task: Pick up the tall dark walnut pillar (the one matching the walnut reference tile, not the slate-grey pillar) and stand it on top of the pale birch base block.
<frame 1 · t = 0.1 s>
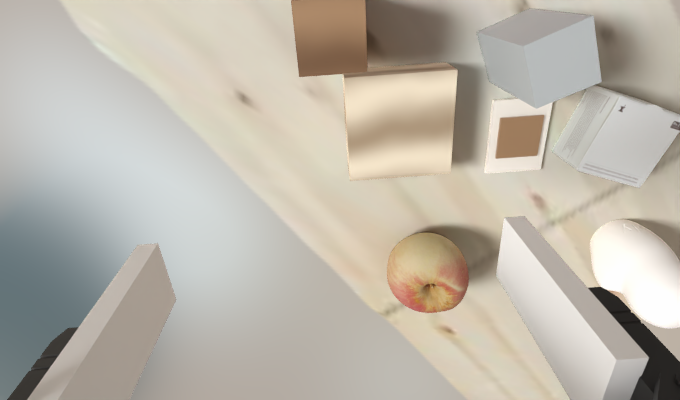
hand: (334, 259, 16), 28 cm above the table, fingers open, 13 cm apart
slate pillar: (508, 46, 39), on the table
small box: (598, 127, 43), on the table
reference tile: (516, 135, 43), on the table
apple: (418, 249, 50), on the table
figurine: (611, 241, 50), on the table
birch base: (393, 116, 42), on the table
walnut pillar: (328, 25, 37), on the table
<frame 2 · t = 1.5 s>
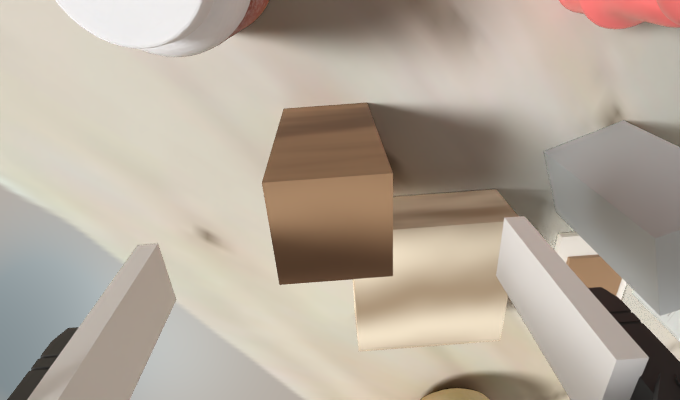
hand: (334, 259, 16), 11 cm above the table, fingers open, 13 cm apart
slate pillar: (587, 168, 27), on the table
reference tile: (586, 273, 31), on the table
apple: (445, 397, 38), on the table
birch base: (419, 254, 30), on the table
walnut pillar: (328, 145, 25), on the table
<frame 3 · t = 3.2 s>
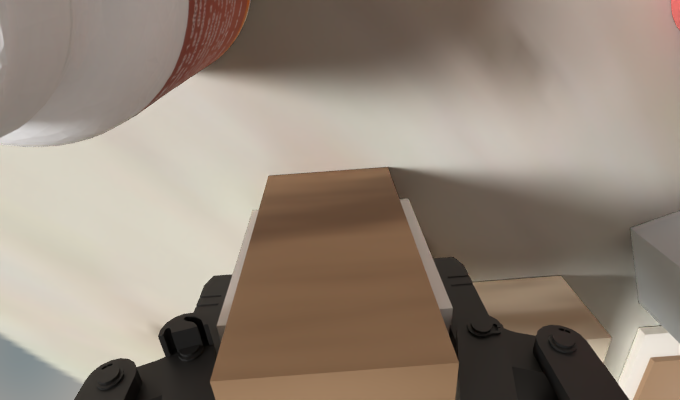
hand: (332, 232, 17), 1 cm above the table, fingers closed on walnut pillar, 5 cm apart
reference tile: (670, 374, 24), on the table
birch base: (453, 354, 22), on the table
walnut pillar: (332, 222, 18), on the table, touching gripper
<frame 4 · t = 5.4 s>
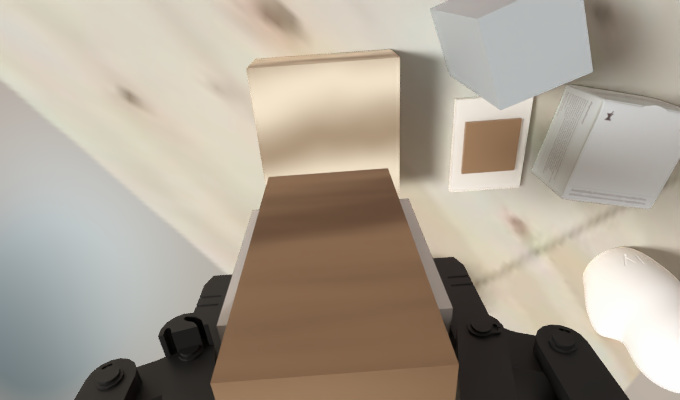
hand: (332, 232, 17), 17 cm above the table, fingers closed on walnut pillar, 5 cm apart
slate pillar: (472, 28, 30), on the table
small box: (588, 135, 34), on the table
reference tile: (487, 143, 34), on the table
figurine: (609, 273, 41), on the table
birch base: (328, 120, 32), on the table
walnut pillar: (332, 223, 18), point 16 cm above the table, touching gripper
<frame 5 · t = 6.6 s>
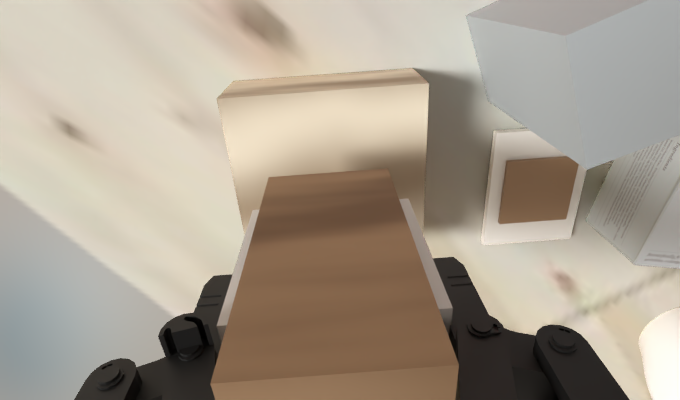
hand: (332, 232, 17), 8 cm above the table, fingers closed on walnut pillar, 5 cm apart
slate pillar: (521, 41, 22), on the table
small box: (658, 175, 27), on the table
reference tile: (532, 186, 26), on the table
figurine: (670, 335, 34), on the table
birch base: (329, 158, 25), on the table
walnut pillar: (332, 223, 18), point 8 cm above the table, touching gripper
when the fingers open (6 cm above the table, at t = 7.6 s): walnut pillar stays where it is, resting on birch base.
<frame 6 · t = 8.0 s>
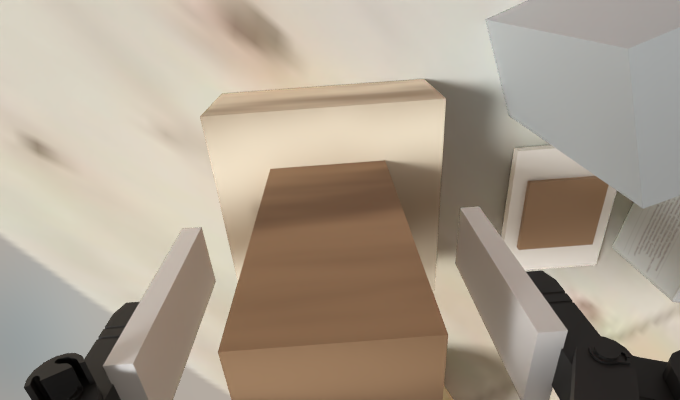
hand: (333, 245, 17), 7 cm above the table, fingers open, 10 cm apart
slate pillar: (548, 48, 20), on the table
reference tile: (555, 208, 24), on the table
birch base: (330, 178, 22), on the table
walnut pillar: (331, 214, 19), point 4 cm above the table, touching birch base
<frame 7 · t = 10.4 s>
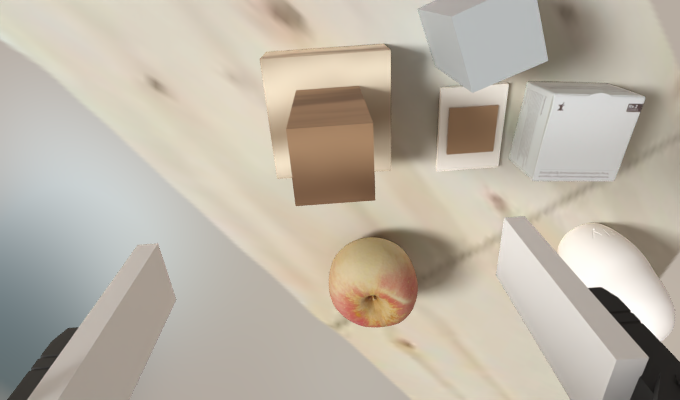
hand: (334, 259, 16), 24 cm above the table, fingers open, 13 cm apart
slate pillar: (454, 25, 34), on the table
small box: (554, 122, 39), on the table
reference tile: (469, 128, 38), on the table
apple: (367, 256, 45), on the table
figurine: (581, 248, 45), on the table
birch base: (329, 106, 37), on the table
walnut pillar: (329, 118, 33), point 4 cm above the table, touching birch base
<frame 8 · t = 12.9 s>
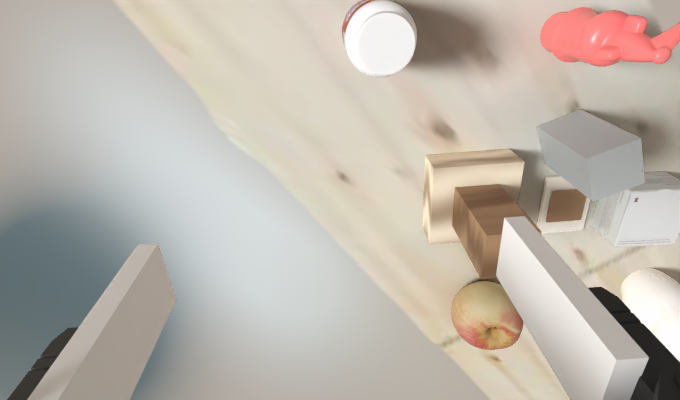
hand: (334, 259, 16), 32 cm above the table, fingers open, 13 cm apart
slate pillar: (561, 136, 48), on the table
small box: (624, 198, 52), on the table
reference tile: (563, 203, 52), on the table
figurine 2: (558, 30, 42), on the table
apple: (475, 292, 59), on the table
figurine: (638, 286, 59), on the table
birch base: (464, 189, 50), on the table
walnut pillar: (474, 205, 47), point 4 cm above the table, touching birch base
pill bottle: (371, 30, 42), on the table
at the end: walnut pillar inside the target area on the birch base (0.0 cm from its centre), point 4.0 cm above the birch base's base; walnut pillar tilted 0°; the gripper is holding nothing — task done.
